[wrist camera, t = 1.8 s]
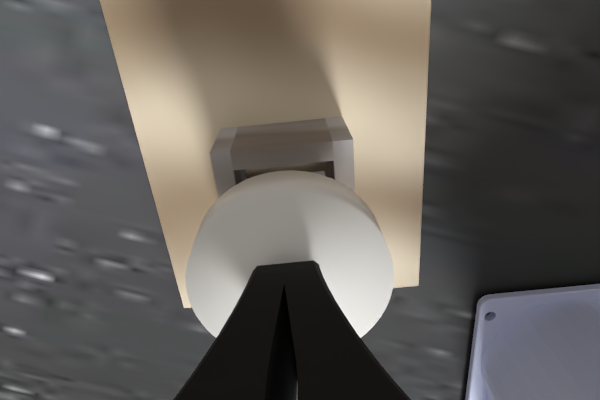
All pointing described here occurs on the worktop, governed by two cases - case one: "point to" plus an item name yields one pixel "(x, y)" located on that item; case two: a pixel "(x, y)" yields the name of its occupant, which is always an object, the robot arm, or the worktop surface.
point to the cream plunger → (290, 245)
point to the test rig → (278, 104)
